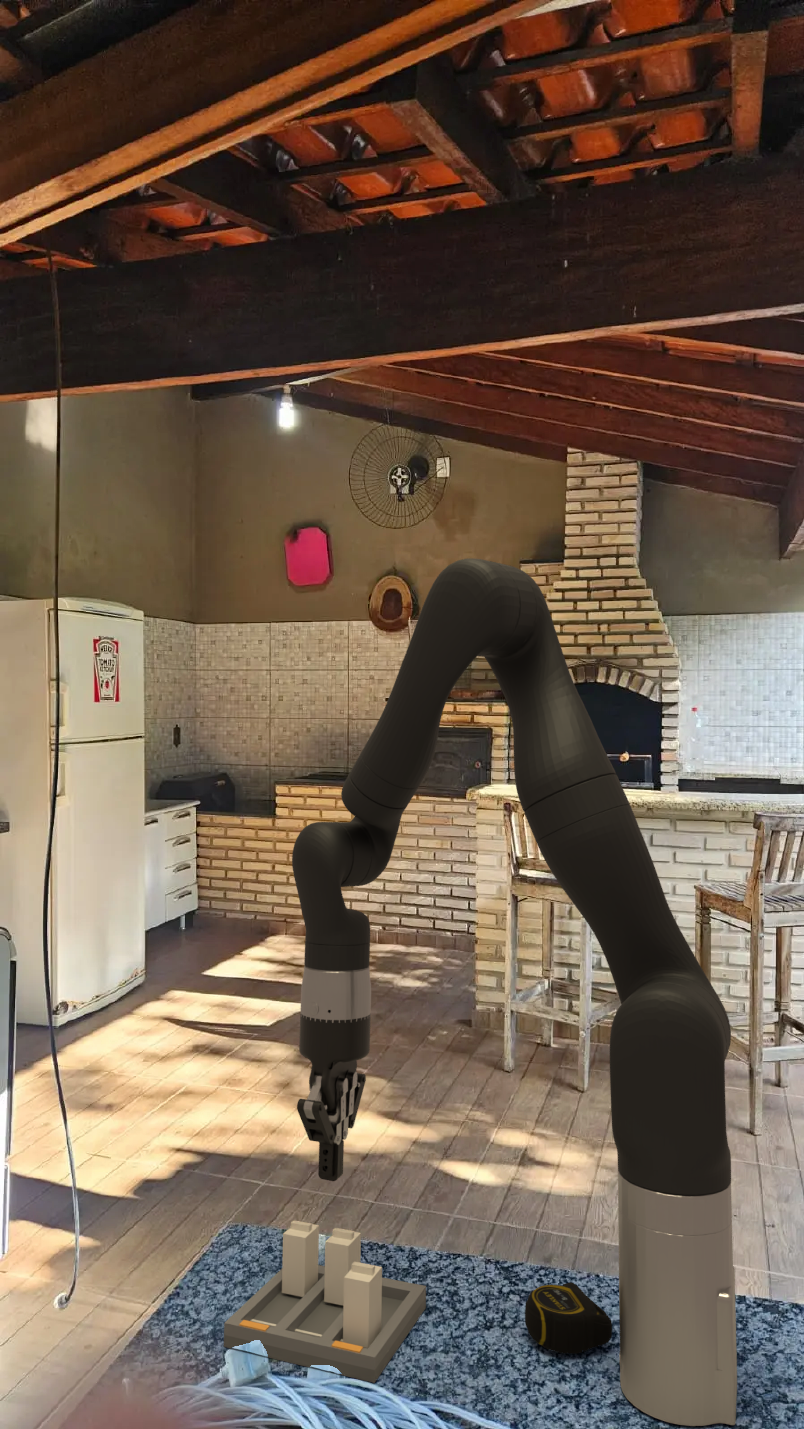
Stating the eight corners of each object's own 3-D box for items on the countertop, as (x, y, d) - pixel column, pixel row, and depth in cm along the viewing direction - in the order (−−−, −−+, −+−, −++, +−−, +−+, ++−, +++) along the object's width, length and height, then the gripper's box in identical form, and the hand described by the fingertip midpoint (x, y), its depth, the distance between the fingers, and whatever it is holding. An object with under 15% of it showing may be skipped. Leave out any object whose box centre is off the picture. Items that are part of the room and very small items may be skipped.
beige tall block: (381, 1330, 85) (382, 1260, 86) (368, 1348, 82) (369, 1274, 83) (356, 1325, 86) (357, 1255, 87) (342, 1342, 83) (344, 1270, 84)
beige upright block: (360, 1291, 92) (361, 1226, 93) (347, 1306, 89) (348, 1239, 90) (337, 1286, 93) (338, 1222, 94) (324, 1301, 90) (325, 1234, 91)
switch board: (425, 1307, 92) (426, 1284, 92) (374, 1382, 80) (374, 1355, 80) (291, 1280, 97) (291, 1258, 97) (223, 1346, 85) (224, 1321, 85)
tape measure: (616, 1356, 84) (615, 1311, 85) (545, 1369, 82) (545, 1323, 83) (578, 1317, 91) (578, 1275, 91) (512, 1327, 89) (512, 1285, 89)
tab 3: (317, 1282, 94) (319, 1219, 94) (304, 1297, 91) (305, 1231, 92) (296, 1278, 95) (297, 1215, 95) (281, 1292, 92) (283, 1227, 92)
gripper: (342, 1025, 95) (337, 1207, 93) (390, 1001, 107) (386, 1161, 105) (275, 1018, 97) (268, 1195, 96) (329, 995, 110) (324, 1151, 108)
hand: (330, 1177), depth 100 cm, fingers closed
